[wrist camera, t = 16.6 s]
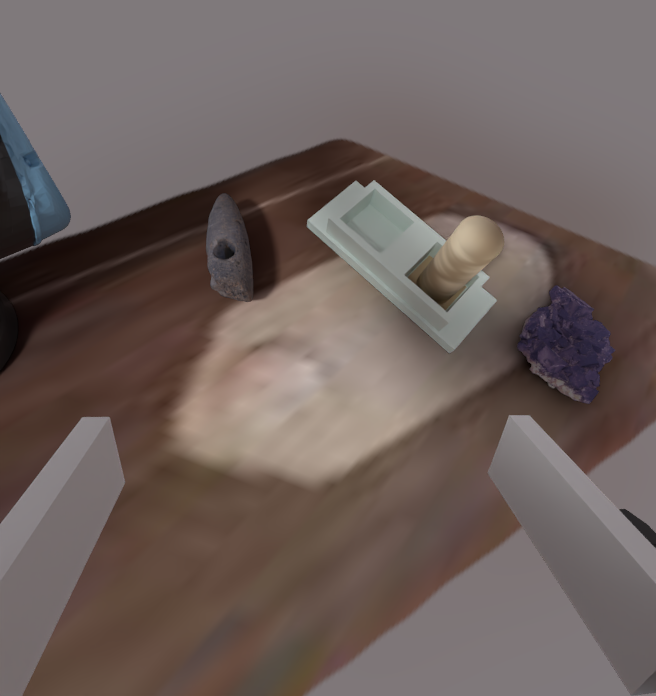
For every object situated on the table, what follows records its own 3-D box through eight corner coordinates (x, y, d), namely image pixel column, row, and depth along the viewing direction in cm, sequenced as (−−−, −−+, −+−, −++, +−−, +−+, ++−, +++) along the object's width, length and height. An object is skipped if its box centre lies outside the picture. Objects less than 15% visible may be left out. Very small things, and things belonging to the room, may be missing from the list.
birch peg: (408, 287, 48) (447, 237, 37) (430, 262, 50) (474, 206, 38) (439, 311, 48) (487, 268, 37) (459, 285, 49) (513, 236, 38)
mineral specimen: (609, 339, 53) (637, 328, 49) (567, 408, 48) (594, 402, 44) (546, 287, 54) (569, 272, 50) (499, 350, 49) (519, 339, 45)
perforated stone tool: (209, 213, 50) (199, 175, 44) (249, 211, 51) (244, 174, 45) (213, 314, 46) (202, 289, 40) (256, 311, 47) (252, 286, 40)
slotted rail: (306, 226, 52) (309, 205, 47) (354, 187, 54) (360, 164, 50) (449, 353, 48) (465, 342, 44) (491, 304, 51) (510, 290, 47)
